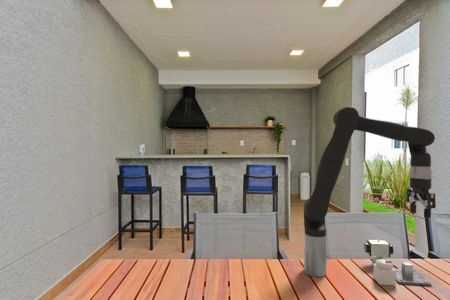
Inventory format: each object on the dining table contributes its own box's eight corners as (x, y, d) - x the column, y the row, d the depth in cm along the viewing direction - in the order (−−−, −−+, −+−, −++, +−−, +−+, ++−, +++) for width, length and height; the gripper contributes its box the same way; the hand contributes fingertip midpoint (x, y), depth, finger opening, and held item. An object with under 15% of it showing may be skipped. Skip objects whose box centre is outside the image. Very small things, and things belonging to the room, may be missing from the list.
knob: (379, 284, 113) (379, 263, 113) (373, 277, 119) (373, 257, 119) (395, 285, 112) (395, 264, 112) (389, 278, 118) (389, 258, 118)
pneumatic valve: (393, 267, 129) (393, 242, 129) (366, 265, 131) (366, 240, 131) (389, 263, 134) (389, 238, 134) (363, 261, 137) (363, 236, 137)
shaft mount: (398, 283, 113) (398, 269, 113) (385, 270, 126) (385, 257, 126) (431, 286, 111) (431, 271, 111) (414, 272, 124) (414, 258, 124)
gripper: (400, 175, 124) (400, 211, 124) (423, 178, 110) (423, 219, 110) (417, 175, 124) (417, 211, 124) (442, 178, 110) (441, 219, 110)
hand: (419, 215), depth 117 cm, fingers open, 8 cm apart
